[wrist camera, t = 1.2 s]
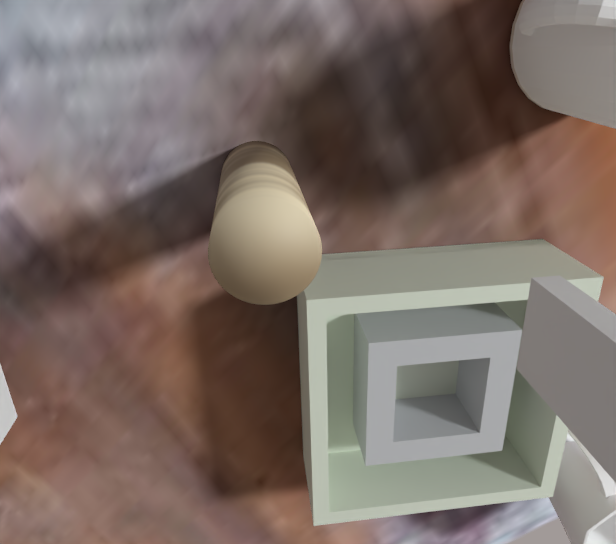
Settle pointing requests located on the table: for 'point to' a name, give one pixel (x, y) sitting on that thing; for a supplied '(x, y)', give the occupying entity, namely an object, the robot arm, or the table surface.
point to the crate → (425, 380)
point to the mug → (567, 57)
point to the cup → (584, 496)
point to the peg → (262, 228)
